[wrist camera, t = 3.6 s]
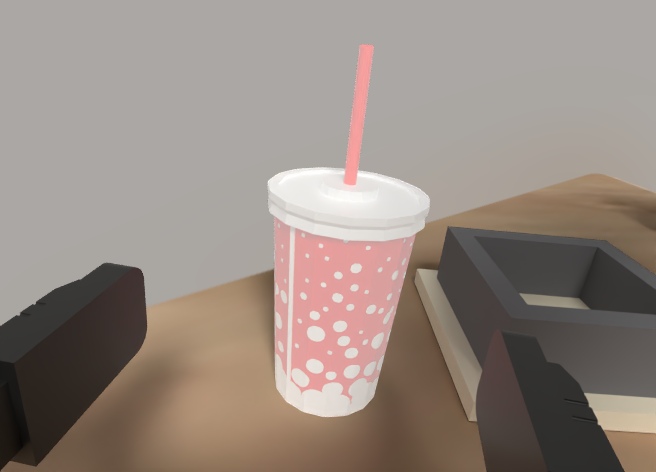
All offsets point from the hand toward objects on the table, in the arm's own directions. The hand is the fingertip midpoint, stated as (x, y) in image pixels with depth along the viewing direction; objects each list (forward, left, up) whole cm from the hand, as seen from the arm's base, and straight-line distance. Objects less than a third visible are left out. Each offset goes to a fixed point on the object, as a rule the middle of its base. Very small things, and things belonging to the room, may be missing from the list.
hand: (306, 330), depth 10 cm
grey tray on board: (-13, -12, -8) cm, 19 cm away
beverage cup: (-1, -8, -8) cm, 11 cm away
